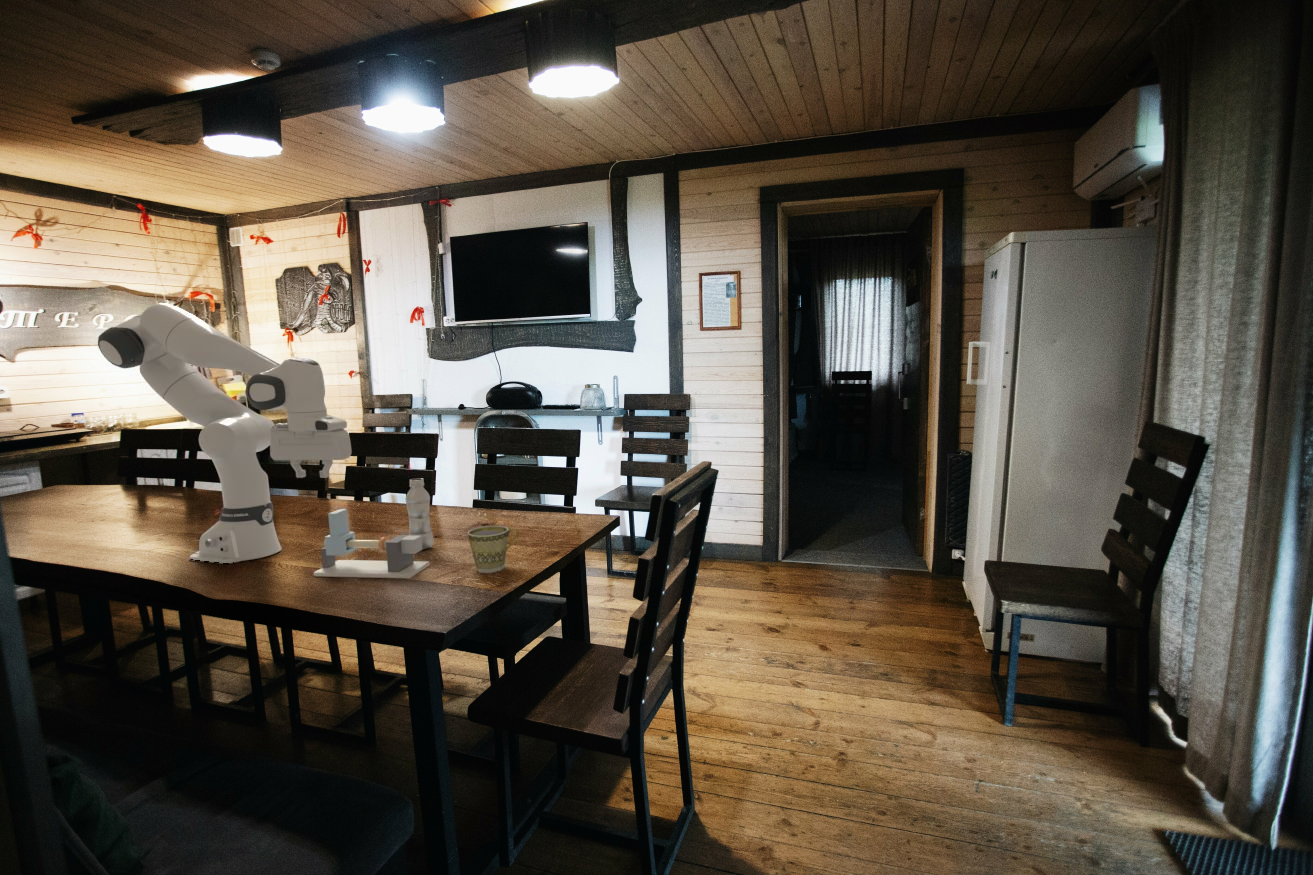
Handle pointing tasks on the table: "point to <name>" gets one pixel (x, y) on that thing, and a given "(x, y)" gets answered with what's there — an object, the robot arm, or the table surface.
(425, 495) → the plastic bottle
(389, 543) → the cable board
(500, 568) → the ceramic cup
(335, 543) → the pale blue stacked blocks
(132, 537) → the table surface
